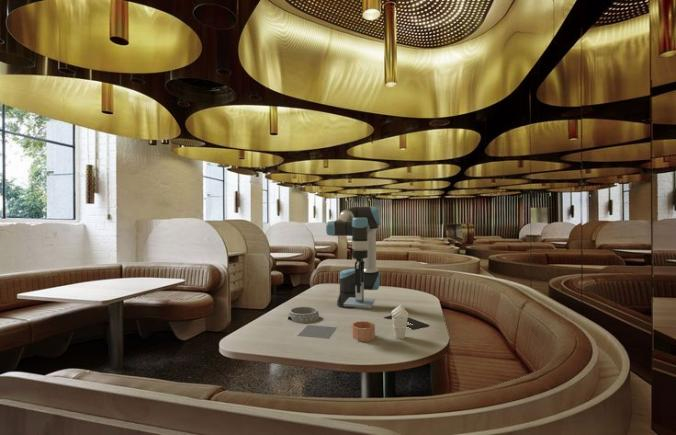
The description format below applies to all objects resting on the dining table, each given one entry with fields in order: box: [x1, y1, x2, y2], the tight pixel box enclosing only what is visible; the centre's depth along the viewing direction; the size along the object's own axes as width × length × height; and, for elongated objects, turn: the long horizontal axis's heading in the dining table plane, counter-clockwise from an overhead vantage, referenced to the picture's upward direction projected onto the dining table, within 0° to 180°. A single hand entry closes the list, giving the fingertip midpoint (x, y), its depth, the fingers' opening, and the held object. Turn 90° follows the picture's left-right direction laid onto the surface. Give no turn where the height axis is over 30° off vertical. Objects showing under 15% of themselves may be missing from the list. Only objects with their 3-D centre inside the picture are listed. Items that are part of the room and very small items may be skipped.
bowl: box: [350, 320, 376, 343], centre depth 155 cm, size 11×11×6 cm
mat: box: [297, 324, 338, 340], centre depth 161 cm, size 16×16×1 cm
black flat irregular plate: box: [383, 314, 430, 331], centre depth 178 cm, size 25×1×15 cm
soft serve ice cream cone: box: [390, 303, 409, 340], centre depth 155 cm, size 8×8×16 cm
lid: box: [343, 282, 376, 309], centre depth 155 cm, size 13×13×10 cm
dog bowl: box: [287, 305, 320, 324], centre depth 183 cm, size 17×18×5 cm
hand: (359, 298), depth 155 cm, fingers closed on lid, 4 cm apart
